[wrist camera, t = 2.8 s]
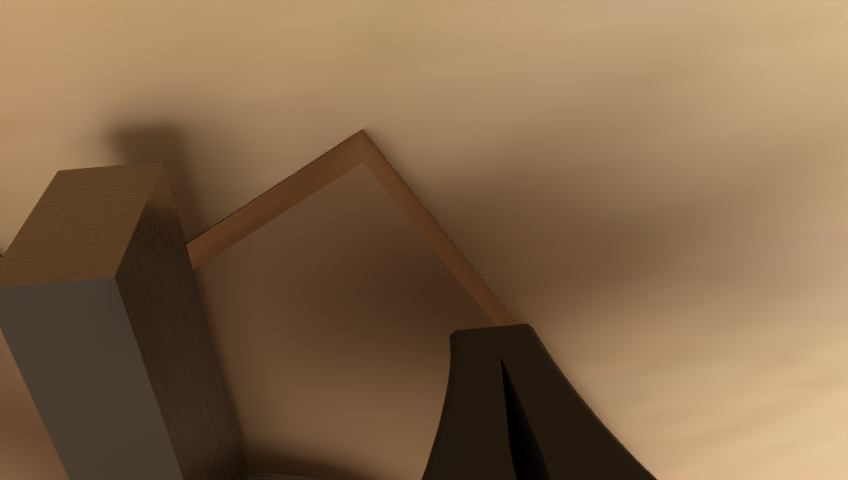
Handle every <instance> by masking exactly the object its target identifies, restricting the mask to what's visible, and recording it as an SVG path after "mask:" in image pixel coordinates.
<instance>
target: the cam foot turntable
mask: <svg viewBox="0 0 848 480" xmlns="http://www.w3.org/2000/svg"><path fill="white" fill-rule="evenodd" d="M0 329H1V331H2V334H3V336H4V338H5V340H6V342H7V344H8V347H9V349H10V351H11V353H12V355H13V358H14V360H15V362H16V364H17V366H18V368H19V371H20V373H21V375H22V377H23V379H24V382H25V384H26V386H27V388H28V390H29V392H30V395H31V397H32V399H33V401H34V403H35V406H36V408H37V410H38V412H39V414H40V416H41V419H42V421H43V423H44V425H45V427H46V430H47V432H48V434H49V436H50V438H51V440H52V443H53V445H54V447H55V449H56V451H57V453H58V456H59V458H60V460H61V462H62V464H63V467H64V469H65V471H66V473H67V475H68V477H69V480H317V479H313V478H308V477H302V476H294V475H286V474H277V473H259V472H248V470H247V466H246V462H245V459H244V455H243V451H242V448H241V444H240V440H239V437H238V433H237V429H236V426H235V422H234V418H233V415H232V411H231V407H230V404H229V400H228V396H227V393H226V389H225V385H224V382H223V378H222V374H221V371H220V367H219V363H218V360H217V356H216V352H215V349H214V345H213V341H212V338H211V334H210V330H209V327H208V323H207V319H206V316H205V312H204V308H203V305H202V301H201V297H200V294H199V290H198V286H197V283H196V279H195V275H194V272H193V268H192V264H191V261H190V257H189V253H188V249H187V246H186V242H185V238H184V235H183V231H182V227H181V224H180V220H179V216H178V213H177V209H176V205H175V202H174V198H173V194H172V191H171V187H170V183H169V180H168V176H167V172H166V169H165V165H164V162H153V163H141V164H130V165H118V166H107V167H95V168H84V169H73V170H61V171H58V172H57V173H56V175H55V177H54V178H53V180H52V181H51V183H50V184H49V186H48V187H47V189H46V190H45V192H44V194H43V195H42V197H41V198H40V200H39V201H38V203H37V204H36V206H35V208H34V209H33V211H32V212H31V214H30V215H29V217H28V218H27V220H26V221H25V223H24V225H23V226H22V228H21V229H20V231H19V232H18V234H17V235H16V237H15V239H14V240H13V242H12V243H11V245H10V246H9V248H8V249H7V251H6V252H5V254H4V256H3V257H2V259H1V260H0Z"/></svg>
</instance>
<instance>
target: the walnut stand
mask: <svg viewBox="0 0 848 480" xmlns="http://www.w3.org/2000/svg"><path fill="white" fill-rule="evenodd" d="M186 246H187V249H188V253H189V257H190V261H191V264H192V268H193V272H194V275H195V279H196V283H197V286H198V290H199V294H200V297H201V301H202V305H203V308H204V312H205V316H206V319H207V323H208V327H209V330H210V334H211V338H212V341H213V345H214V349H215V352H216V356H217V360H218V363H219V367H220V371H221V374H222V378H223V382H224V385H225V389H226V393H227V396H228V400H229V404H230V407H231V411H232V415H233V418H234V422H235V426H236V429H237V433H238V437H239V440H240V444H241V448H242V451H243V455H244V459H245V462H246V466H247V470H248V472H259V473H277V474H286V475H294V476H302V477H308V478H313V479H317V480H421V479H422V477H423V474H424V471H425V468H426V465H427V462H428V459H429V456H430V453H431V449H432V446H433V443H434V439H435V436H436V433H437V429H438V426H439V422H440V418H441V413H442V409H443V404H444V400H445V395H446V390H447V384H448V377H449V370H450V358H451V355H450V338H449V336H450V335H451V334H452V333H453V332H454V331H456V330H464V329H474V328H485V327H496V326H507V325H517V324H516V323H515V321H514V320H513V319H512V318H511V316H510V315H509V314H508V313H507V311H506V310H505V309H504V308H503V306H502V305H501V304H500V303H499V301H498V300H497V299H496V298H495V296H494V295H493V294H492V292H491V291H490V290H489V289H488V287H487V286H486V285H485V284H484V282H483V281H482V280H481V279H480V277H479V276H478V275H477V274H476V272H475V271H474V270H473V269H472V267H471V266H470V265H469V264H468V262H467V261H466V260H465V259H464V257H463V256H462V255H461V253H460V252H459V251H458V250H457V248H456V247H455V246H454V245H453V243H452V242H451V241H450V240H449V238H448V237H447V236H446V235H445V233H444V232H443V231H442V230H441V228H440V227H439V226H438V225H437V223H436V222H435V221H434V220H433V218H432V217H431V216H430V215H429V213H428V212H427V211H426V209H425V208H424V207H423V206H422V204H421V203H420V202H419V201H418V199H417V198H416V197H415V196H414V194H413V193H412V192H411V191H410V189H409V188H408V187H407V186H406V184H405V183H404V182H403V181H402V179H401V178H400V177H399V176H398V174H397V173H396V172H395V170H394V169H393V168H392V167H391V165H390V164H389V163H388V162H387V160H386V159H385V158H384V157H383V155H382V154H381V153H380V152H379V150H378V149H377V148H376V147H375V145H374V144H373V143H372V142H371V140H370V139H369V138H368V137H367V135H366V134H365V133H364V131H363V130H361V131H360V132H358V133H357V134H355V135H354V136H352V137H351V138H349V139H348V140H346V141H344V142H343V143H341V144H340V145H338V146H337V147H335V148H334V149H332V150H331V151H329V152H328V153H326V154H325V155H323V156H321V157H320V158H318V159H317V160H315V161H314V162H312V163H311V164H309V165H308V166H306V167H305V168H303V169H301V170H300V171H298V172H297V173H295V174H294V175H292V176H291V177H289V178H288V179H286V180H285V181H283V182H281V183H280V184H278V185H277V186H275V187H274V188H272V189H271V190H269V191H268V192H266V193H265V194H263V195H262V196H260V197H258V198H257V199H255V200H254V201H252V202H251V203H249V204H248V205H246V206H245V207H243V208H242V209H240V210H238V211H237V212H235V213H234V214H232V215H231V216H229V217H228V218H226V219H225V220H223V221H222V222H220V223H218V224H217V225H215V226H214V227H212V228H211V229H209V230H208V231H206V232H205V233H203V234H202V235H200V236H199V237H197V238H195V239H194V240H192V241H191V242H189V243H188V244H186ZM1 259H2V257H1V256H0V260H1ZM0 480H69V477H68V475H67V473H66V471H65V469H64V467H63V464H62V462H61V460H60V458H59V456H58V453H57V451H56V449H55V447H54V445H53V443H52V440H51V438H50V436H49V434H48V432H47V430H46V427H45V425H44V423H43V421H42V419H41V416H40V414H39V412H38V410H37V408H36V406H35V403H34V401H33V399H32V397H31V395H30V392H29V390H28V388H27V386H26V384H25V382H24V379H23V377H22V375H21V373H20V371H19V368H18V366H17V364H16V362H15V360H14V358H13V355H12V353H11V351H10V349H9V347H8V344H7V342H6V340H5V338H4V336H3V334H2V331H1V329H0Z"/></svg>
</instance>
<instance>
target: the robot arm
mask: <svg viewBox="0 0 848 480" xmlns="http://www.w3.org/2000/svg"><path fill="white" fill-rule="evenodd" d="M449 338H450V355H451V358H450V370H449V377H448V384H447V390H446V395H445V400H444V404H443V409H442V413H441V418H440V422H439V426H438V429H437V433H436V436H435V439H434V443H433V446H432V449H431V453H430V456H429V459H428V462H427V465H426V468H425V471H424V474H423V477H422V479H421V480H657V479H656V478H655V477H654V476H653V475H652V474H651V473H650V472H649V471H647V470H646V469H645V468H644V467H643V466H642V465H641V464H640V463H639V462H638V461H637V460H636V459H635V458H634V457H633V456H632V455H631V454H630V453H629V452H628V451H627V449H626V448H625V447H624V446H623V445H622V444H621V443H620V442H619V441H618V440H617V439H616V438H615V437H614V435H613V434H612V433H611V432H610V431H609V430H608V429H607V428H606V427H605V425H604V424H603V423H602V422H601V421H600V420H599V419H598V417H597V416H596V415H595V414H594V413H593V411H592V410H591V409H590V408H589V406H588V405H587V404H586V403H585V402H584V400H583V399H582V398H581V397H580V395H579V394H578V393H577V392H576V390H575V389H574V388H573V386H572V385H571V384H570V383H569V381H568V380H567V379H566V377H565V376H564V374H563V373H562V372H561V370H560V369H559V367H558V366H557V365H556V363H555V362H554V360H553V359H552V357H551V356H550V355H549V353H548V352H547V350H546V348H545V347H544V345H543V344H542V342H541V341H540V339H539V337H538V336H537V334H536V332H535V330H534V329H533V328H532V327H531V326H530V325H528V324H517V325H507V326H496V327H485V328H474V329H464V330H456V331H454V332H453V333H452V334H451V335H450V336H449Z"/></svg>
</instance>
